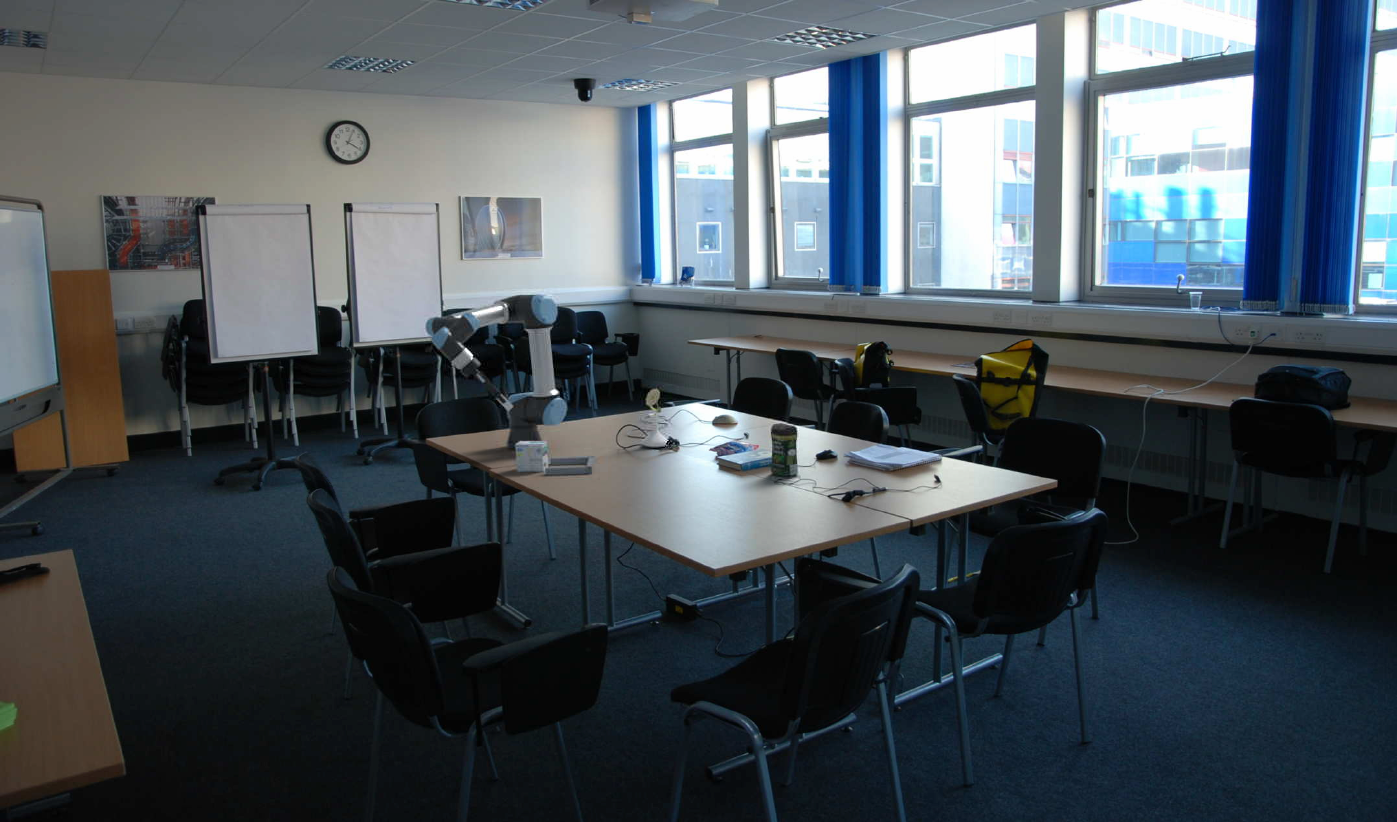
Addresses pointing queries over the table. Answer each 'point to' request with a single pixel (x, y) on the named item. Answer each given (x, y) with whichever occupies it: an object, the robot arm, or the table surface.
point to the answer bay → (571, 470)
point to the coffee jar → (784, 450)
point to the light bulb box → (531, 456)
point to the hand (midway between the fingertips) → (510, 408)
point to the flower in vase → (654, 422)
